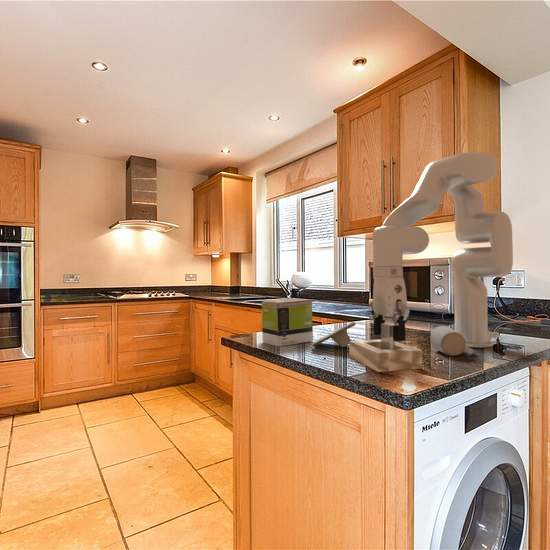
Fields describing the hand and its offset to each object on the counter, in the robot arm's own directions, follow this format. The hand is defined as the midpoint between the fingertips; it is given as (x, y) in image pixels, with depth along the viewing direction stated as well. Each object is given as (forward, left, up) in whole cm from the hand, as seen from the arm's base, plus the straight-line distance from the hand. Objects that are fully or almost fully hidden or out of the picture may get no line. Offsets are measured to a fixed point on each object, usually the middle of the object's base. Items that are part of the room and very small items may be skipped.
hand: (388, 337), depth 97 cm
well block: (+2, 0, -7) cm, 7 cm away
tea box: (+19, -34, -7) cm, 39 cm away
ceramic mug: (-23, -4, -7) cm, 24 cm away
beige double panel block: (+7, -22, -7) cm, 24 cm away
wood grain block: (+2, 0, -7) cm, 7 cm away
